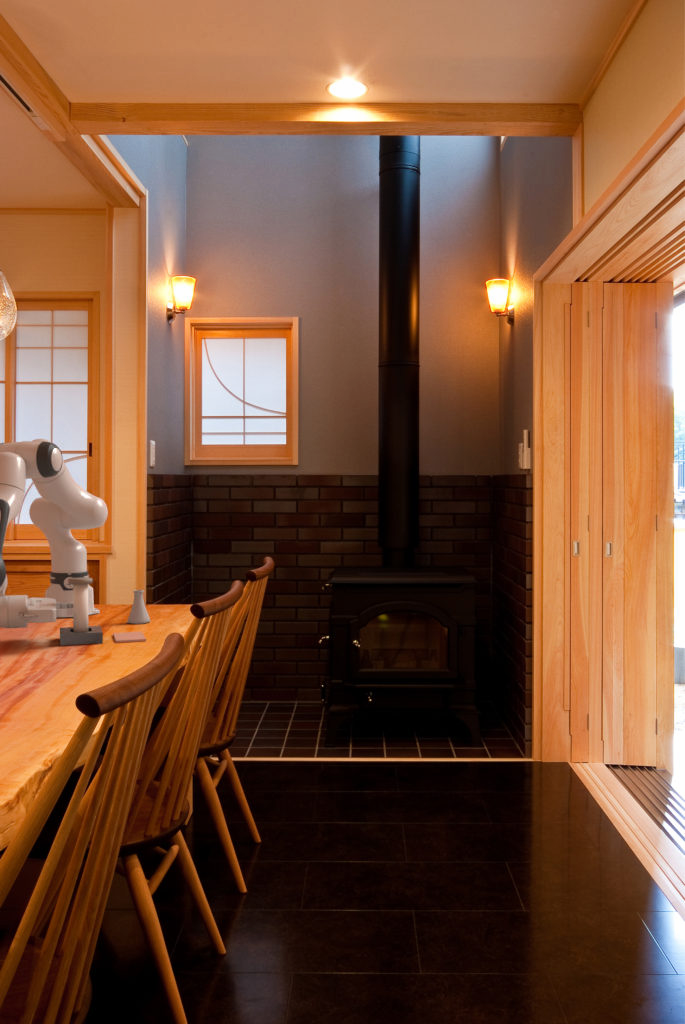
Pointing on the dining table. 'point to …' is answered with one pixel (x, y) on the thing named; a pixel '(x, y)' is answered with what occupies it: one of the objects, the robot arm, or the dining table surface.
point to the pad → (129, 637)
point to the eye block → (81, 636)
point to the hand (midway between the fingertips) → (74, 609)
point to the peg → (80, 603)
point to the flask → (138, 609)
